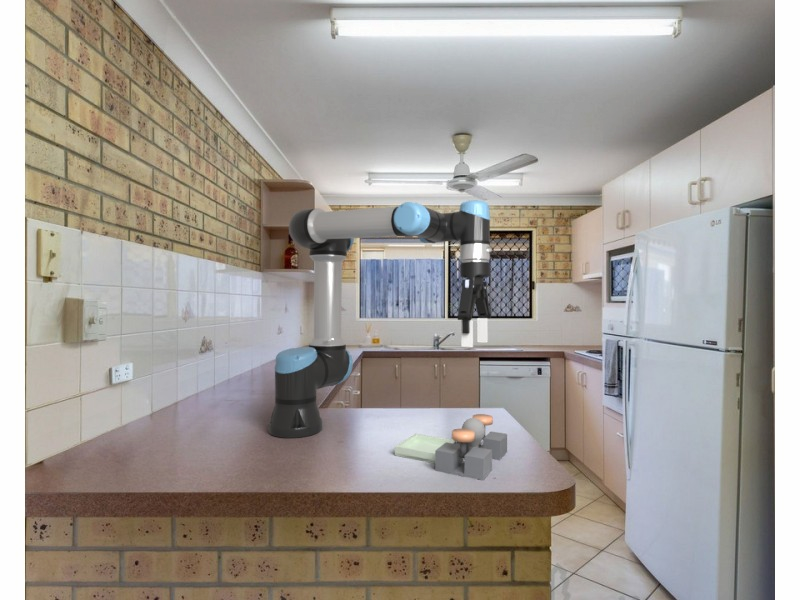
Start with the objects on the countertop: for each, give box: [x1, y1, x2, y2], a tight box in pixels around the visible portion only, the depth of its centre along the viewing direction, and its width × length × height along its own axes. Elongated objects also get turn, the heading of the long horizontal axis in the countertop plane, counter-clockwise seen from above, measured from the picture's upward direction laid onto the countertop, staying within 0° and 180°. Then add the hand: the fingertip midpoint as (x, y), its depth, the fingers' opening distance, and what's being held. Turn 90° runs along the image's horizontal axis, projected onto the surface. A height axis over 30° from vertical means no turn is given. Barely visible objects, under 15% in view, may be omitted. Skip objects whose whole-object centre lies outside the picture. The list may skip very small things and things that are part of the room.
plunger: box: [451, 428, 475, 459], centre depth 98 cm, size 5×5×6 cm
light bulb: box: [461, 417, 486, 451], centre depth 104 cm, size 6×6×10 cm
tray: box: [394, 433, 457, 464], centre depth 110 cm, size 12×12×2 cm
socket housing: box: [434, 431, 508, 481], centre depth 104 cm, size 11×20×4 cm, turn 152°
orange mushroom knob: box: [472, 413, 494, 441], centre depth 110 cm, size 5×5×6 cm
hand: (475, 344), depth 114 cm, fingers open, 13 cm apart
